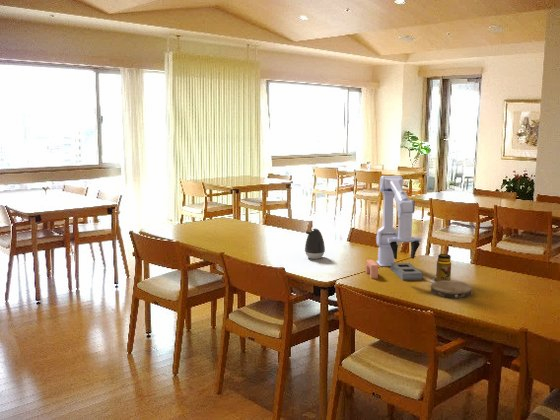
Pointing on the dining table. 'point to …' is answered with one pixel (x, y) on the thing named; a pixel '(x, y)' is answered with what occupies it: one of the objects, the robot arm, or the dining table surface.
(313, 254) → the pump dispenser
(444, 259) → the condiment
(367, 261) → the tall salmon pink prism
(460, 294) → the gray brown round disc
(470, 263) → the dining table surface
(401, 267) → the gray block with cutout
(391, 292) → the dining table surface
